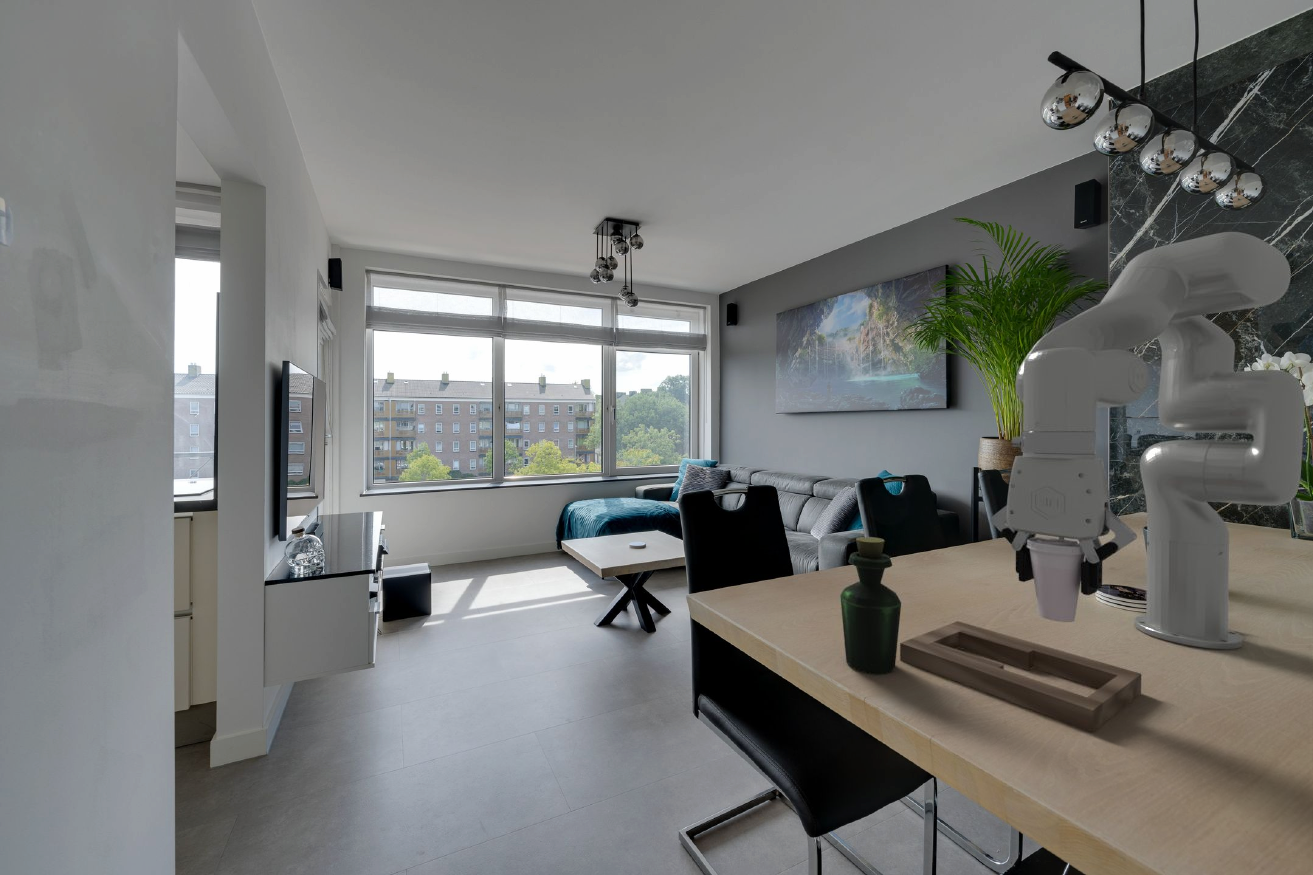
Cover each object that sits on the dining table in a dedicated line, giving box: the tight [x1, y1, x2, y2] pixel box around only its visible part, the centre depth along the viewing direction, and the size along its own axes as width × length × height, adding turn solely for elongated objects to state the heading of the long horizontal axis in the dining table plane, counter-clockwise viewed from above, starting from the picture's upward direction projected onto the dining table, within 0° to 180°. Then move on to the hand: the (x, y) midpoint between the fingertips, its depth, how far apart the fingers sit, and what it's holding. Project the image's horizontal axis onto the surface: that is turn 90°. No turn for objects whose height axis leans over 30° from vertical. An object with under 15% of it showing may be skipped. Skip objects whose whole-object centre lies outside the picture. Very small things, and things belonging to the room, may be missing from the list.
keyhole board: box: [899, 620, 1142, 733], centre depth 74 cm, size 16×23×2 cm
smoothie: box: [1027, 536, 1086, 623], centre depth 70 cm, size 6×6×14 cm
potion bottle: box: [840, 536, 902, 675], centre depth 78 cm, size 8×8×18 cm
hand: (1056, 584), depth 70 cm, fingers closed on smoothie, 6 cm apart
